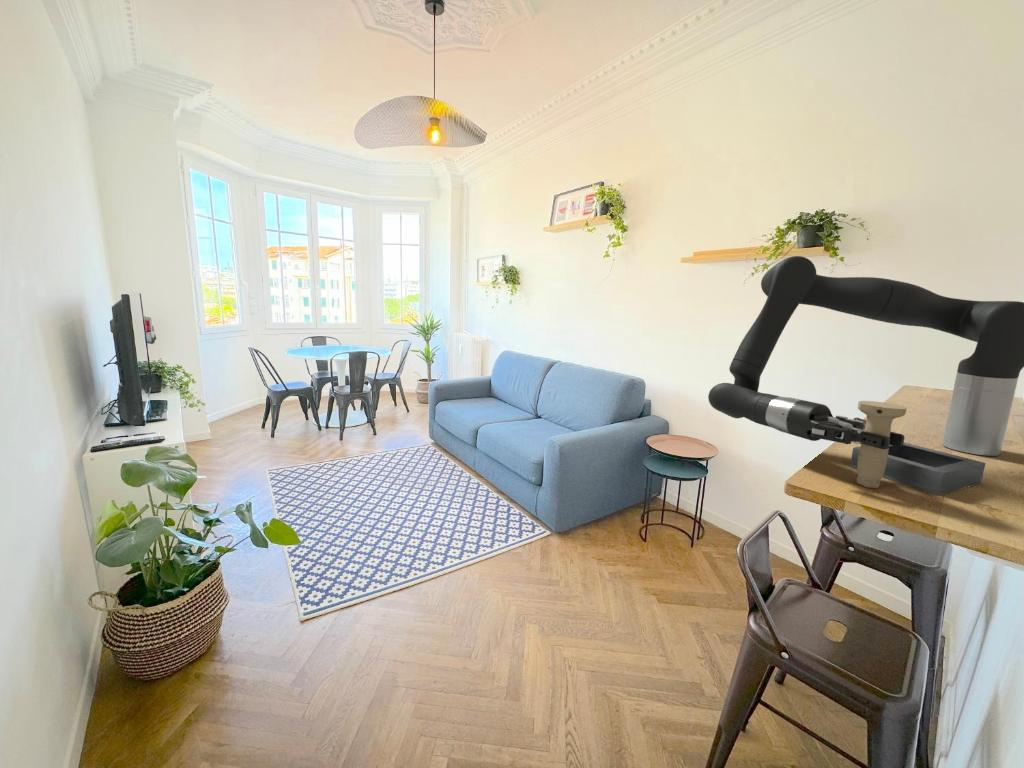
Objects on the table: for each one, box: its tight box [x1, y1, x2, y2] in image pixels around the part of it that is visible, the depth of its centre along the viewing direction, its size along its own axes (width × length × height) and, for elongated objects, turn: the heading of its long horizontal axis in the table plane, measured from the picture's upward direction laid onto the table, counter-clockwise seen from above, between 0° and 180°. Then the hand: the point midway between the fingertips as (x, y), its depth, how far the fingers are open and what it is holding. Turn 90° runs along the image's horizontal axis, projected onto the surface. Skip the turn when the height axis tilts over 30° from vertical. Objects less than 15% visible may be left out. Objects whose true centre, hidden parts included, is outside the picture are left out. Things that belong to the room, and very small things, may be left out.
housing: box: [849, 442, 986, 496], centre depth 83 cm, size 14×14×4 cm
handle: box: [856, 400, 908, 489], centre depth 77 cm, size 5×6×15 cm
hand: (895, 442), depth 74 cm, fingers closed on handle, 3 cm apart
